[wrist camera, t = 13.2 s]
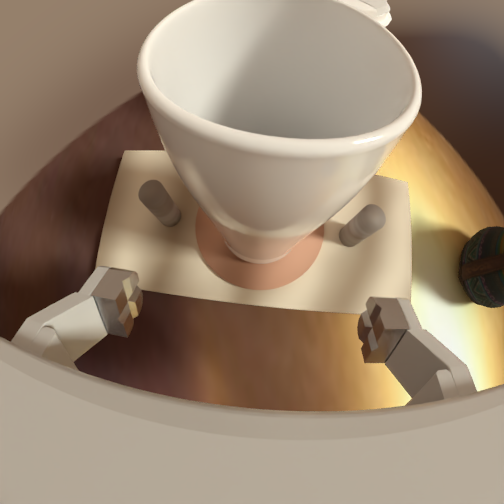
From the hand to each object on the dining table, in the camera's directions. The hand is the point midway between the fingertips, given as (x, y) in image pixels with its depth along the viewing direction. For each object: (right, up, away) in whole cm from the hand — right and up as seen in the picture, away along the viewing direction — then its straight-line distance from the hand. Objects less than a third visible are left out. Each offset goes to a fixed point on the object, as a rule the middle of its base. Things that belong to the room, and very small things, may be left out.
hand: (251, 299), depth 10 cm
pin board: (+1, +3, +12) cm, 12 cm away
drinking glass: (+1, +3, +10) cm, 11 cm away
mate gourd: (+21, 0, +11) cm, 24 cm away
